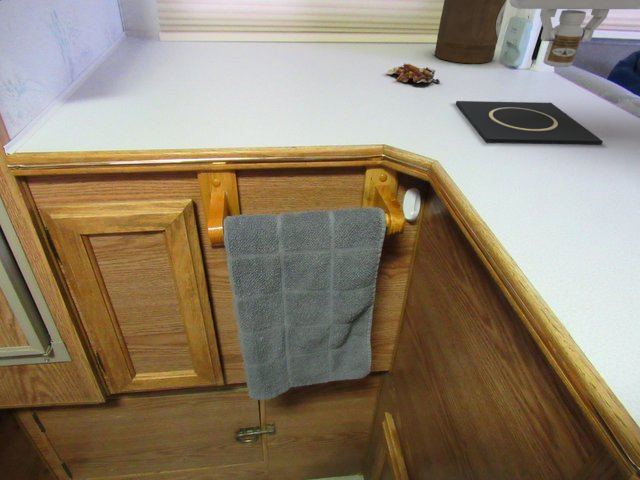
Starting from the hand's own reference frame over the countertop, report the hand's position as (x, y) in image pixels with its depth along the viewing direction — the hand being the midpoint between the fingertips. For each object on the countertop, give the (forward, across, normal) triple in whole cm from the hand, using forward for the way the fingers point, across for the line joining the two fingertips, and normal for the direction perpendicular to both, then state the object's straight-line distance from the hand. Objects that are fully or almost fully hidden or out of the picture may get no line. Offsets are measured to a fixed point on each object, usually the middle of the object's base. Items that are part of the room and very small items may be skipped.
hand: (564, 40), depth 67 cm
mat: (+12, +4, +3) cm, 13 cm away
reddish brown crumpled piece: (+12, +19, -22) cm, 32 cm away
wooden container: (+13, +1, -44) cm, 46 cm away
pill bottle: (+4, 0, 0) cm, 4 cm away
